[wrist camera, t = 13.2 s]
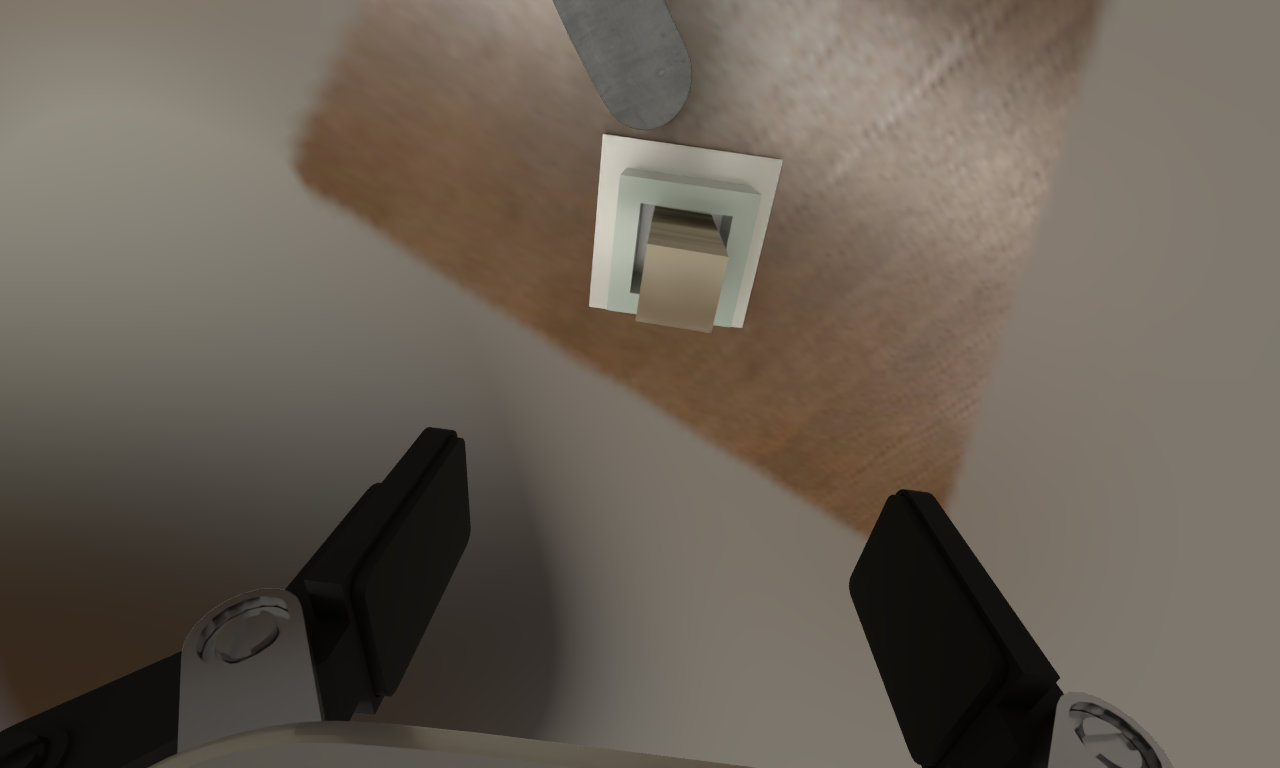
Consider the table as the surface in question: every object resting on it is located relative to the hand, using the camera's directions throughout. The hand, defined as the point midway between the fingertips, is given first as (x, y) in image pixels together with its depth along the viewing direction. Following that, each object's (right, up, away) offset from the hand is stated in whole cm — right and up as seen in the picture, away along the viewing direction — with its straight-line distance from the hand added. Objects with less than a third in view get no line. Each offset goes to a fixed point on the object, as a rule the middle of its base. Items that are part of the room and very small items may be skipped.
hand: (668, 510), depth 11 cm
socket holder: (+2, +14, +25) cm, 29 cm away
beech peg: (+2, +13, +24) cm, 28 cm away
